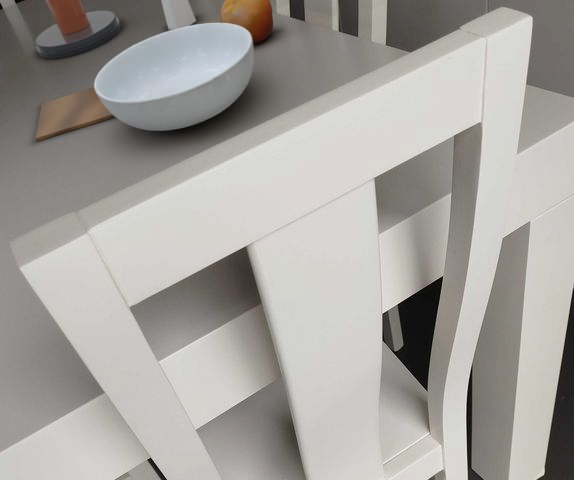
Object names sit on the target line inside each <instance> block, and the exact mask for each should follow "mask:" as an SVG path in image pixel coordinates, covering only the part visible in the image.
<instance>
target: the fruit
mask: <svg viewBox="0 0 574 480" xmlns="http://www.w3.org/2000/svg"><path fill="white" fill-rule="evenodd" d="M219 14H220V15H219V16H220V23H230V24H235V25H239V26H241V27H243V28H245V29H246V30H248V31H249V32H250V34H251V36H252V39H253V44H260V43H261V42H263V41H265V40H266V39H267V38H269V37H270V36H271V34H272V33H273V32H274V17H273V6H272V4H271V1H270V0H224V2H223V4H222V6H221V9H220V11H219Z"/></svg>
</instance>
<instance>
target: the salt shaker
mask: <svg viewBox="0 0 574 480" xmlns="http://www.w3.org/2000/svg"><path fill="white" fill-rule="evenodd" d="M160 1H161V5H162V9H163V13H164V16H165V17H164V18H165V21H166V25H167V30H168V31H170V30H174V29H178V28H182V27H186V26H191V25H194V24H195V23H196V21H197V19H196V18H195V15H194V12H193V10H192V7H191V5H190V2H189V0H160Z"/></svg>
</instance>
